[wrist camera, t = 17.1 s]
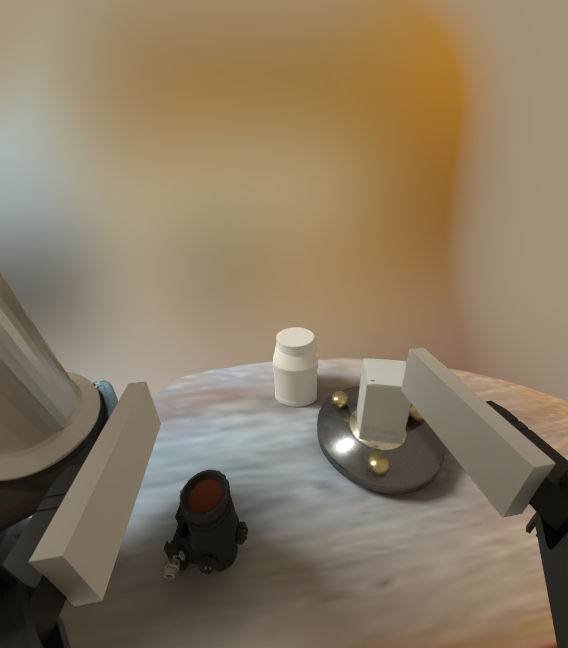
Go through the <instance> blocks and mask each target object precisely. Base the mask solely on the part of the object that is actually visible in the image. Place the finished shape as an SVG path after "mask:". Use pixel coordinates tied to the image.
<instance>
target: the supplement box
mask: <svg viewBox="0 0 568 648" xmlns="http://www.w3.org/2000/svg"><path fill="white" fill-rule="evenodd" d="M405 369H406V362H405V361H396V360H381V359H368V358H364V359H363V364H362V372H361V380H360V389H359V398H358V405H357V421H358V435H359V439H363V440H370V441H378V442H385V443H393V444H402V441H403V437H404V432H405V428H406V424H407V420H408V416H409V411H410V407H411V402H410V401H409V400H408V398H407V397H406V396H405V395H404V393H403V392H402V391H401V388H402V383H403V378H404V374H405Z"/></svg>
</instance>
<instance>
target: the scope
mask: <svg viewBox="0 0 568 648" xmlns="http://www.w3.org/2000/svg"><path fill="white" fill-rule="evenodd" d="M229 488H230V487H229V482H228V480H226V476H225V475H224V474H222V473H221V472H219V471H216V470H205V471H202V472H200V473H198V474H196V475H195V476H193V477H192V478H191V479H190V480H189V481H188V482H187V484H186V485H185V486H184V488H183V490H181V491H180V493H181V495H180V506H179V508H178V511H177V513H176V516H175V518H176V520H177V523H178V527H177V530H176V532H175V535H174V538H173V541H171V542H170V543H168V542H167V541H166V544H165V547H164V550H165V552H166V554H167V556H168V558H169V561H167V562H166V565H165V571H164V577H166V578H168V579H173V578H175V577H176V574H177V571H179V570H183V571H185V570H186V568H187V565H186V562H189V563H192V564H198V567H199V569H200V570H201V572H202V573H205V574H206V572H208V574H210V573H211V572H212V571H214V570H216V571H223V570H225V569H227V568H228V567H230V566H231V565H232V563H233V562H234V560H235V558H236V555H237V549H238V547H237V544H241V545H242V544H243V543H244V541H245V540H246V539H247V536H246V535H247V534H248V528H247V526H246V524H245V522H240V523H239V520H238V516H237V514H236V512H235V509H234V505H233V502H232V498H231V495H230V489H229Z"/></svg>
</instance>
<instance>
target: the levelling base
mask: <svg viewBox="0 0 568 648" xmlns="http://www.w3.org/2000/svg"><path fill="white" fill-rule="evenodd" d="M359 389H360V387H355V388H349V389H345V390H343V391H336V392H334V393H333V395H332V396H331V397H330V398H329V399H328V400H327V401H326V402H325V403H324V404H323V406H322V408H321V409H320V412H319V415H318V422H317V435H318V440H319V443H320V446H321V449H322V451H323V453H324V455H325V456H326V458H327V459H328V461H329V462H330V463H331V464H332V465H333V466H334V468H336V469H337V470H338V471H339V472H340V473H341V474H342V475H344V476H345V477H346V478H348V479H349V480H351V481H353V482H354V483H356V484H358V485H360V486H363V487H365V488H367V489H370V490H374V491H377V492H382V493H390V494H402V493H409V492H414V491H416V490H419V489H421V488H423V487H425V486H426V485H428V484H429V483H430V482H431V481H432V480H433V479H434V478H435V477H436V475H437V474H438V472H439V469H440V467H441V464H442V461H443V458H444V443H443V442H442V441H441V440H440V438H439V437H438V436H437V435H436V433H435V432H434V431H433V430H432V428H431V427H430V426H429V425H428V423H427V422H426V421H425V420H424V418H423V417H422V416H421V415H420V413H419V412H418V411H417V410H416V408H415V407H414V406H413V405H412V403H411V407H410V411H409V416H408V420H407V424H406V428H405V432H404V437H403V441H402V444H393V443H385V442H378V441H370V440H363V439H359V435H358V421H357V405H358V398H359Z"/></svg>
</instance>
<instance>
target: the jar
mask: <svg viewBox="0 0 568 648" xmlns="http://www.w3.org/2000/svg"><path fill="white" fill-rule="evenodd" d="M276 339H277V345H276V347H275V353H274V356H273V368H274V379H275V398H276V399H277V400H278V401H279V402H280V403H282V404H284V405H287V406H291V407H303V406H307V405H309V404H311V403H313V402H314V401H316V400H317V368H318V357H317V346H316V345H315V344H314V334H313V333H312V332H311V331H309V330H307V329H304V328H288V329H284V330H282V331H281V332H279V333H278V334H277V337H276Z"/></svg>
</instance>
